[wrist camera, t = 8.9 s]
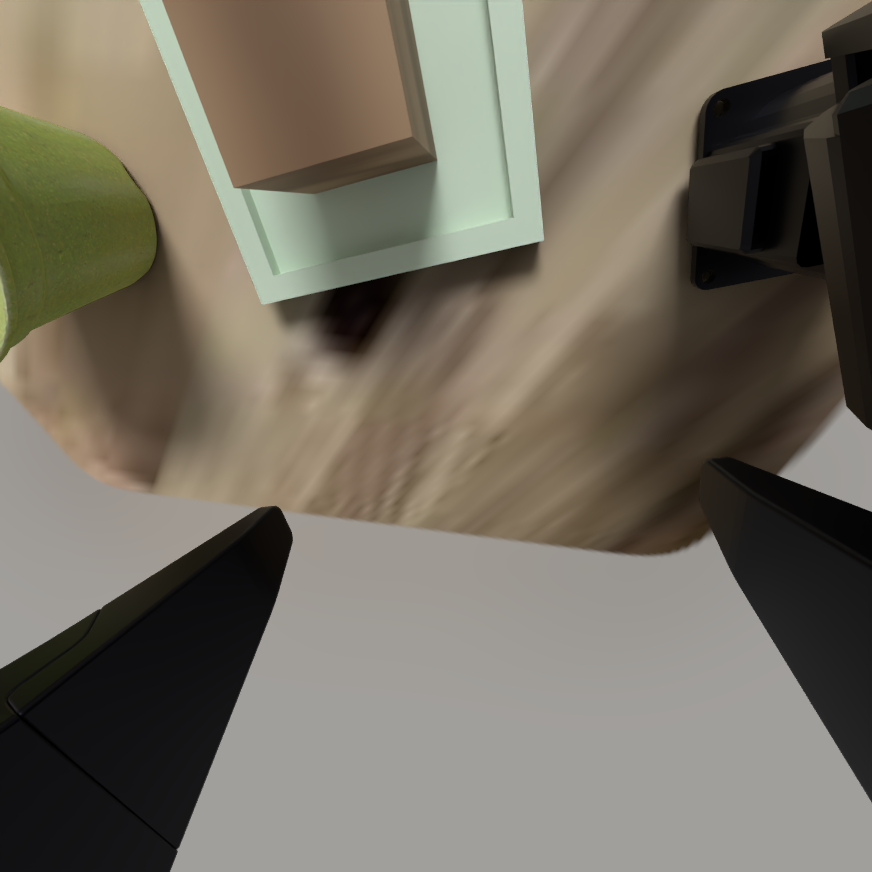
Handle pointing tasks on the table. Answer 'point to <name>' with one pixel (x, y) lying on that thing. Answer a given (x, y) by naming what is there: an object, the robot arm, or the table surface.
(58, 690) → the robot arm
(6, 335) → the plant pot
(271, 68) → the walnut block
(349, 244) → the green tray
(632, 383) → the table surface
